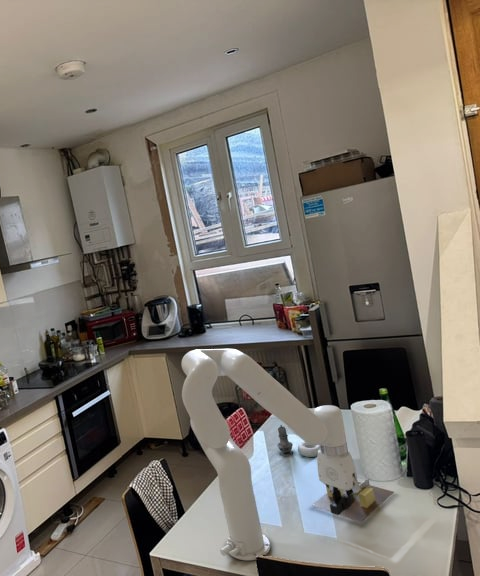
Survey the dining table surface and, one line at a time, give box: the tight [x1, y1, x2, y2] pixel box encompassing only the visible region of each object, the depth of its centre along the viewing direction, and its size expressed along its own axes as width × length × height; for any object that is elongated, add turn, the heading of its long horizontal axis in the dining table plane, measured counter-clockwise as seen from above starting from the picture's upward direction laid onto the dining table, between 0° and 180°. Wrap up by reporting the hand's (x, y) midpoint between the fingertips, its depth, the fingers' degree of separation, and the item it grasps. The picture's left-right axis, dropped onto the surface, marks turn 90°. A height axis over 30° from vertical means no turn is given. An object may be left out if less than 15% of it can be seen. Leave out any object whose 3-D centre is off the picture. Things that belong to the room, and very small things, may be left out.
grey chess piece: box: [276, 424, 294, 457], centre depth 201 cm, size 6×6×12 cm
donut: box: [297, 440, 320, 458], centre depth 198 cm, size 10×4×10 cm
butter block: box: [325, 485, 343, 497], centre depth 164 cm, size 5×6×4 cm
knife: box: [330, 477, 371, 516], centre depth 155 cm, size 20×2×3 cm, turn 124°
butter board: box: [311, 481, 394, 523], centre depth 161 cm, size 20×16×1 cm
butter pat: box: [359, 487, 375, 508], centre depth 157 cm, size 5×2×4 cm, turn 124°
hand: (342, 505), depth 152 cm, fingers closed on knife, 2 cm apart
